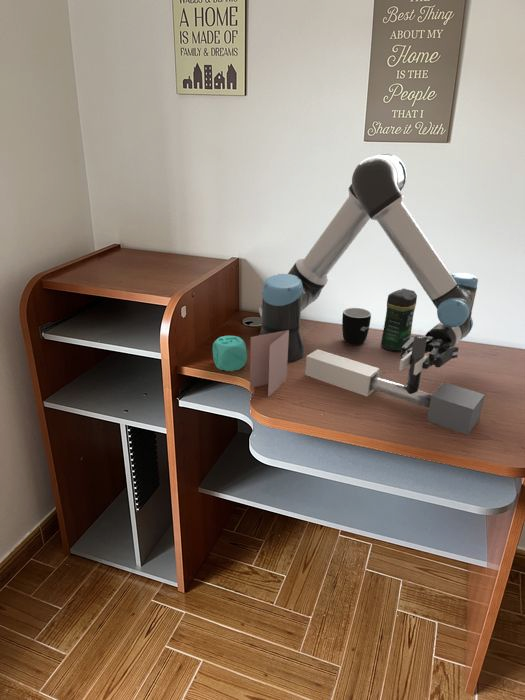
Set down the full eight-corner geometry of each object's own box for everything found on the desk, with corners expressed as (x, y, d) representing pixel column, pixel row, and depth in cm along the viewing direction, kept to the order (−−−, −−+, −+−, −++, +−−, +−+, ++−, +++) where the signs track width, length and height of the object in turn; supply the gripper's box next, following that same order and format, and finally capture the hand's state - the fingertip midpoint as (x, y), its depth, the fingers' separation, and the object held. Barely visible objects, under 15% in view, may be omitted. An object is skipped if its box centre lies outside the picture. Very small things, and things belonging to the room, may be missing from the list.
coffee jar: (399, 354, 168) (408, 297, 160) (377, 347, 172) (384, 291, 165) (413, 344, 175) (421, 290, 167) (391, 338, 179) (398, 284, 172)
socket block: (426, 420, 133) (431, 395, 130) (439, 406, 139) (444, 382, 136) (467, 434, 127) (473, 409, 124) (479, 419, 134) (484, 394, 131)
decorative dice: (246, 369, 156) (247, 344, 152) (220, 373, 153) (220, 347, 150) (238, 358, 162) (238, 333, 159) (212, 361, 160) (212, 337, 156)
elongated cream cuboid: (305, 375, 153) (306, 356, 151) (316, 367, 158) (317, 349, 155) (367, 396, 143) (369, 376, 140) (377, 388, 147) (379, 368, 145)
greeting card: (284, 378, 151) (287, 328, 145) (298, 389, 145) (301, 338, 139) (248, 386, 146) (249, 335, 140) (261, 398, 140) (262, 346, 134)
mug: (359, 349, 170) (362, 319, 166) (335, 342, 175) (337, 312, 171) (377, 338, 179) (380, 309, 175) (353, 331, 184) (356, 303, 180)
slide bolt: (340, 381, 148) (346, 320, 141) (346, 376, 151) (352, 316, 143) (432, 412, 134) (444, 347, 127) (437, 406, 137) (449, 342, 129)
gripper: (469, 358, 144) (438, 391, 127) (412, 342, 153) (376, 371, 136) (475, 332, 141) (443, 363, 124) (416, 318, 150) (379, 344, 133)
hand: (408, 367), depth 130 cm, fingers closed on slide bolt, 3 cm apart
